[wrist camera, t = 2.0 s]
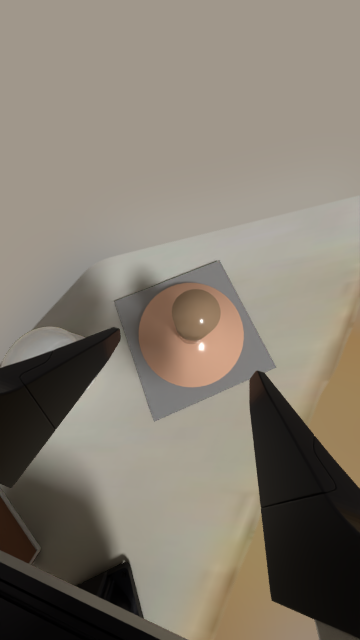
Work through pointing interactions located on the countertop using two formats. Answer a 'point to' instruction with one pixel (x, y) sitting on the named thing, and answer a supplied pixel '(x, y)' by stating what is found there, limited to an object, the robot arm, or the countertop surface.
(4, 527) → the food container
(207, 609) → the countertop surface
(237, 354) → the lid
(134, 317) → the mat
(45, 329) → the ramekin
